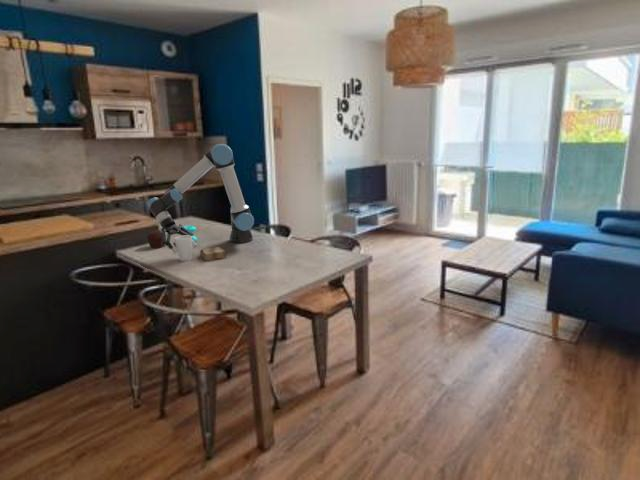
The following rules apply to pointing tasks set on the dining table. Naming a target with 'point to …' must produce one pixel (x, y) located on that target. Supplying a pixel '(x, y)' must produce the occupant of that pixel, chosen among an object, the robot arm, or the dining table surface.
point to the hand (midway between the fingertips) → (186, 249)
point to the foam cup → (184, 247)
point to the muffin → (155, 239)
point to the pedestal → (212, 253)
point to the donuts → (191, 229)
